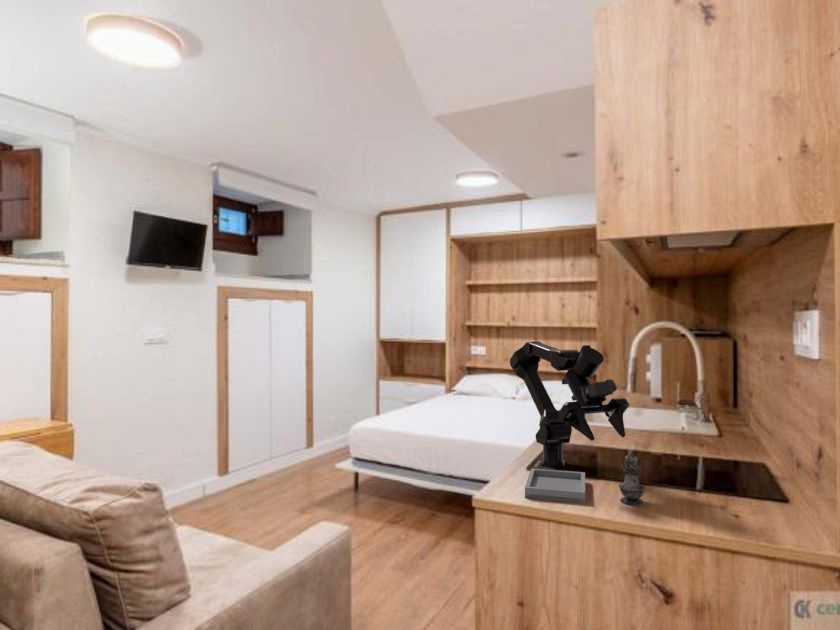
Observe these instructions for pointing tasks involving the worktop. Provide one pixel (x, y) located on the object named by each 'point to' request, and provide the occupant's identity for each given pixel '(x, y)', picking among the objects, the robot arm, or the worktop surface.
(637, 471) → the grey tall rounded piece
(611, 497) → the worktop surface
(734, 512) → the worktop surface
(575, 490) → the grey tray
